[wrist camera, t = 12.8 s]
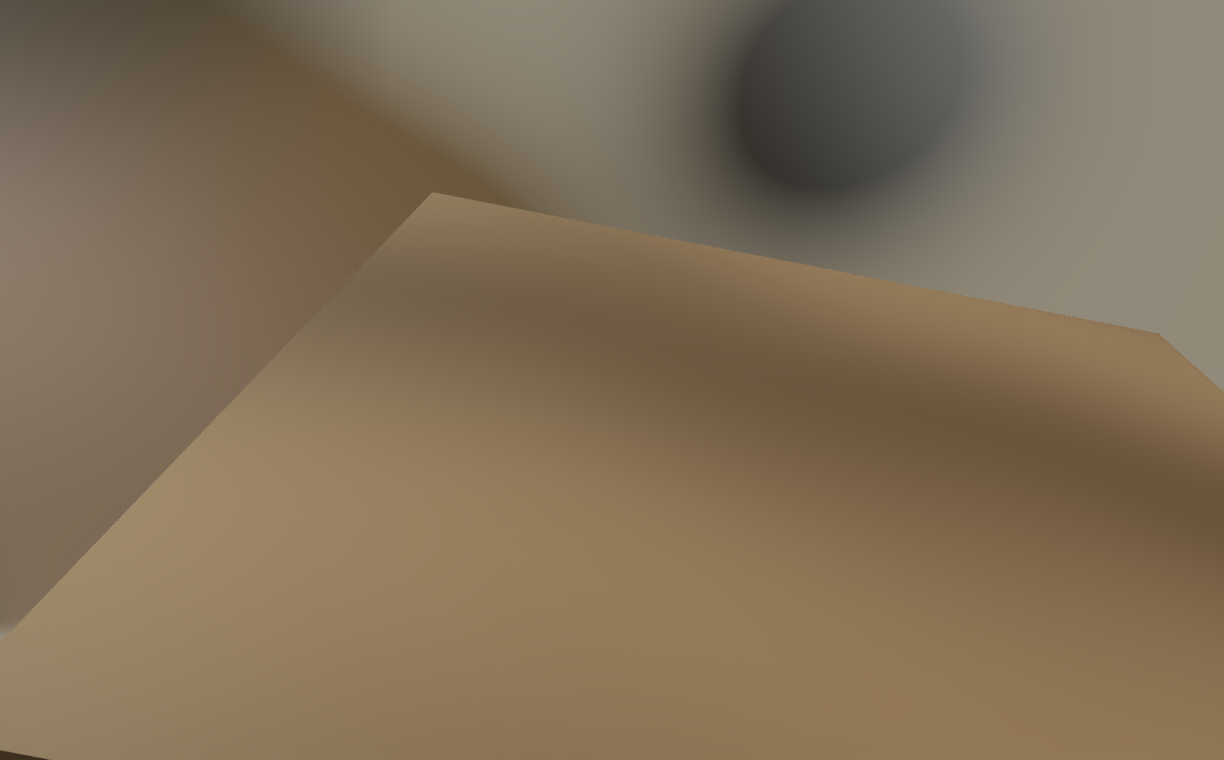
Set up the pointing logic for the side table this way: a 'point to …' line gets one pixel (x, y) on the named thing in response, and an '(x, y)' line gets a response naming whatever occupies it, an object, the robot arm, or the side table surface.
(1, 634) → the side table surface
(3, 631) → the side table surface
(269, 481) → the wooden brick
